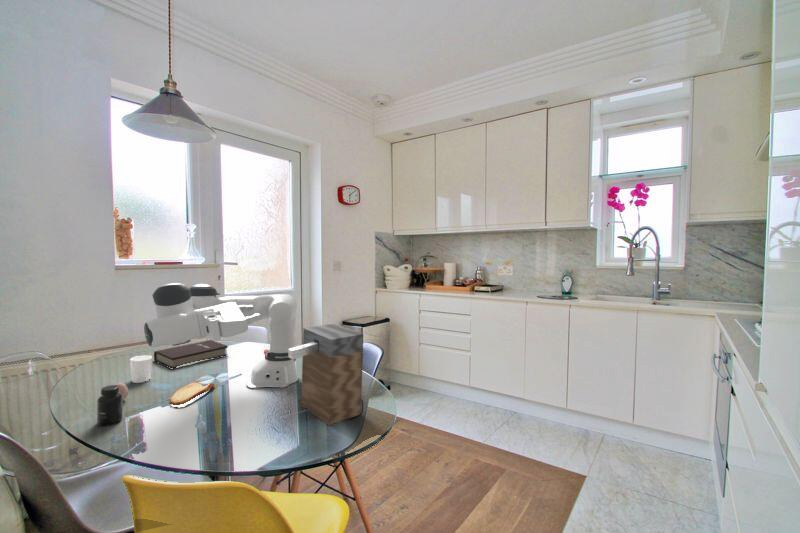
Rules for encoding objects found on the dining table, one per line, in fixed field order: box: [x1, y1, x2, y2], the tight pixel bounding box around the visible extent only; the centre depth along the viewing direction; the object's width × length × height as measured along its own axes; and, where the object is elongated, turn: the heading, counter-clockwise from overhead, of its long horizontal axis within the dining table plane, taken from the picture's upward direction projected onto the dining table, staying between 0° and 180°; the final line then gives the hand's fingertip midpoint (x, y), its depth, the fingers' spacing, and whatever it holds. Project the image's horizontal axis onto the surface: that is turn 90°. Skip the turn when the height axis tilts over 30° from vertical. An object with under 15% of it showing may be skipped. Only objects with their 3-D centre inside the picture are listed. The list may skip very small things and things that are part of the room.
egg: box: [114, 382, 129, 401], centre depth 138 cm, size 5×5×7 cm
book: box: [153, 339, 229, 369], centre depth 190 cm, size 28×20×6 cm
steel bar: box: [288, 341, 319, 360], centre depth 132 cm, size 18×3×3 cm, turn 132°
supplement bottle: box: [96, 384, 124, 427], centre depth 123 cm, size 7×7×12 cm
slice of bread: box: [169, 381, 215, 405], centre depth 146 cm, size 18×18×4 cm
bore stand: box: [301, 323, 364, 426], centre depth 138 cm, size 14×20×31 cm
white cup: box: [129, 354, 153, 384], centre depth 159 cm, size 8×8×10 cm
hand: (256, 311), depth 117 cm, fingers open, 8 cm apart
